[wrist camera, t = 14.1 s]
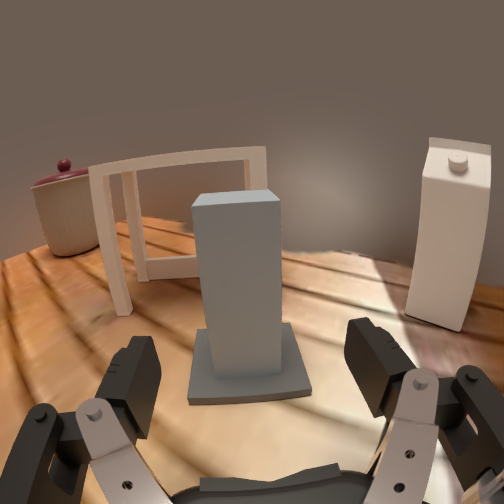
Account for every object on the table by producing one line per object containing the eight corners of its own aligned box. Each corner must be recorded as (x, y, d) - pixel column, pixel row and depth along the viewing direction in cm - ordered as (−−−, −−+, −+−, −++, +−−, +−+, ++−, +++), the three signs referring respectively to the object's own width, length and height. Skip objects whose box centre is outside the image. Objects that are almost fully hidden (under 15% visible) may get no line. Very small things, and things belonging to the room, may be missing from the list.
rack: (270, 308, 31) (265, 146, 25) (117, 315, 30) (88, 166, 24) (260, 269, 41) (255, 148, 36) (141, 277, 40) (124, 162, 35)
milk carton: (420, 290, 32) (435, 140, 25) (467, 305, 27) (490, 148, 20) (403, 314, 27) (421, 133, 21) (459, 333, 22) (491, 142, 16)
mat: (311, 395, 19) (312, 388, 18) (189, 404, 18) (187, 397, 18) (289, 329, 27) (289, 322, 27) (198, 335, 27) (197, 329, 26)
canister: (43, 250, 57) (29, 169, 50) (103, 233, 68) (93, 155, 61) (44, 270, 44) (24, 164, 37) (121, 247, 56) (108, 147, 49)
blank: (280, 374, 20) (280, 200, 16) (215, 379, 20) (191, 206, 16) (272, 336, 25) (268, 189, 21) (217, 340, 25) (200, 193, 20)
